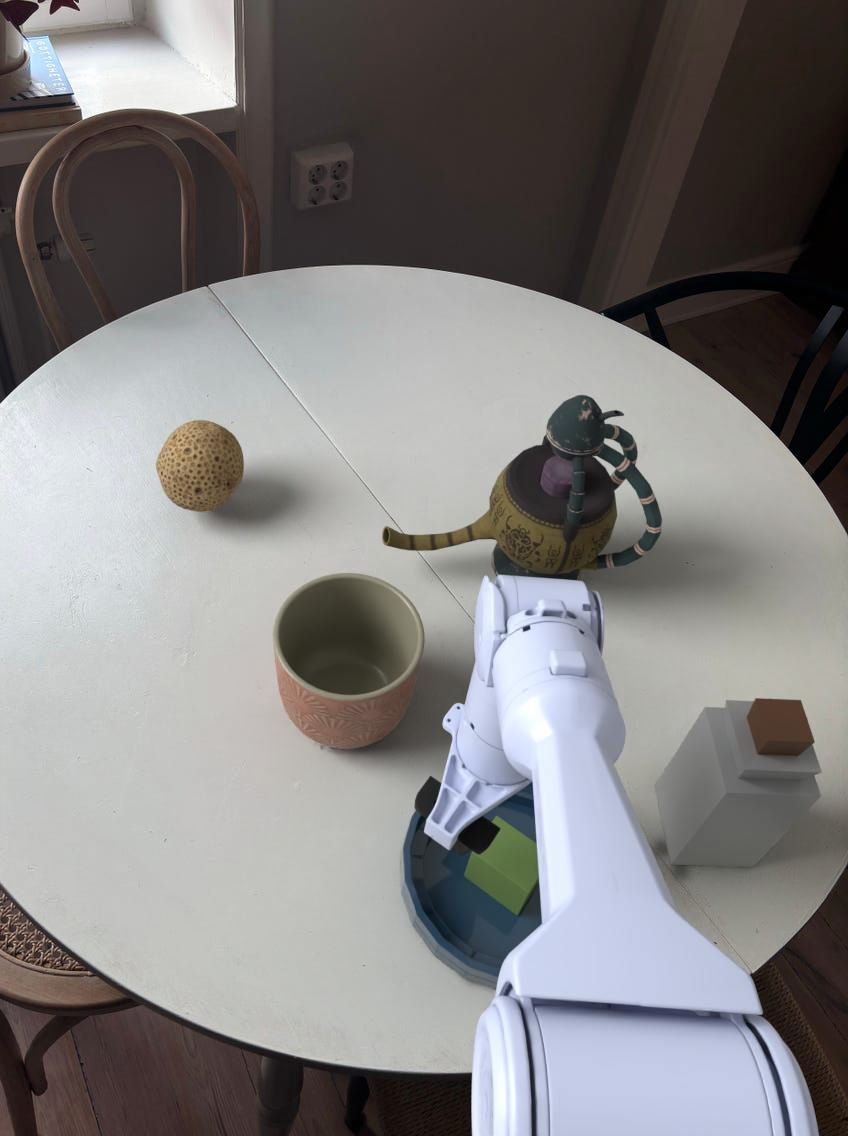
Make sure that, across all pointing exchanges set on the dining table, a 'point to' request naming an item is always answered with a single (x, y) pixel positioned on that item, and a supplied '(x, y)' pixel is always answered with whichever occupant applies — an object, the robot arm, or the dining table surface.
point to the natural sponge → (200, 466)
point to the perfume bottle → (738, 783)
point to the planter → (347, 658)
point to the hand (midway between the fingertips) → (480, 803)
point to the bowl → (465, 899)
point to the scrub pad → (506, 867)
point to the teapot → (557, 501)
